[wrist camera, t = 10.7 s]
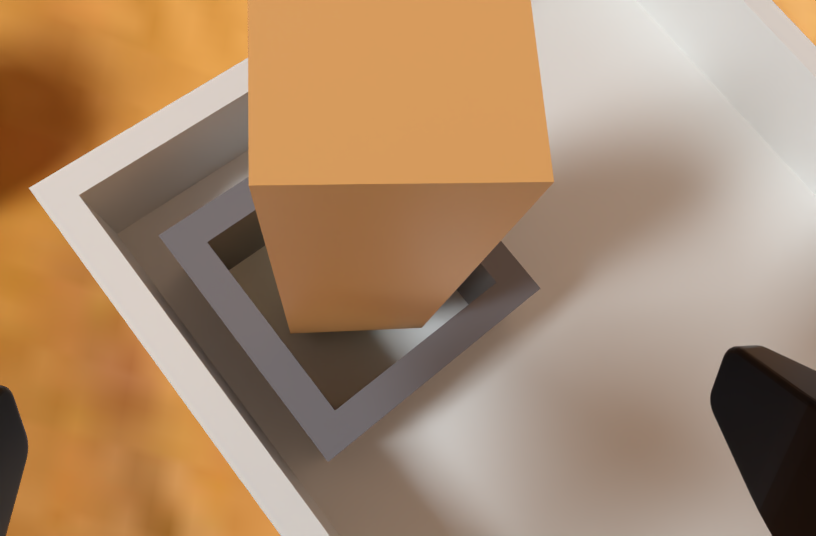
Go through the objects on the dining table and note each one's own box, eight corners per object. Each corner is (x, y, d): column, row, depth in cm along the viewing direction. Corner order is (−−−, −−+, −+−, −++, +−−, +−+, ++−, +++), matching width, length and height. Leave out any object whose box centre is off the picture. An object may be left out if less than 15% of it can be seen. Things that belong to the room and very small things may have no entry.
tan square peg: (408, 342, 18) (553, 182, 7) (294, 347, 18) (248, 185, 6) (401, 234, 19) (521, -69, 8) (292, 237, 19) (248, -81, 7)
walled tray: (1047, 454, 21) (1207, 458, 17) (629, 981, 16) (726, 1149, 12) (570, -67, 24) (617, -162, 20) (87, 238, 19) (28, 187, 15)
